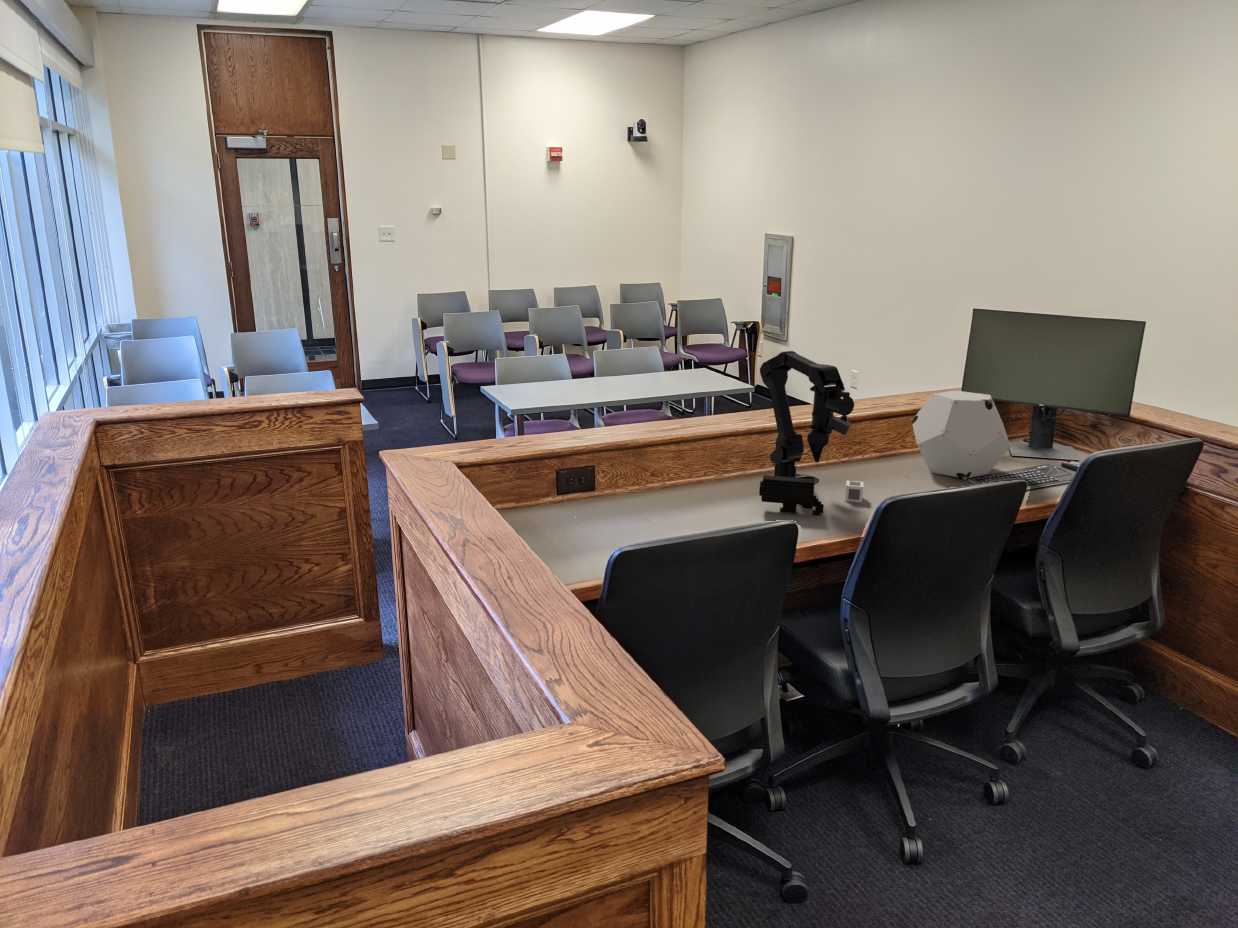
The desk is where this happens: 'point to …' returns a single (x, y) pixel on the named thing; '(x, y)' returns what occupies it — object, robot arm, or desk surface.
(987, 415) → the geometric sculpture
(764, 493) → the security camera
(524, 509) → the desk surface
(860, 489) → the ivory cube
